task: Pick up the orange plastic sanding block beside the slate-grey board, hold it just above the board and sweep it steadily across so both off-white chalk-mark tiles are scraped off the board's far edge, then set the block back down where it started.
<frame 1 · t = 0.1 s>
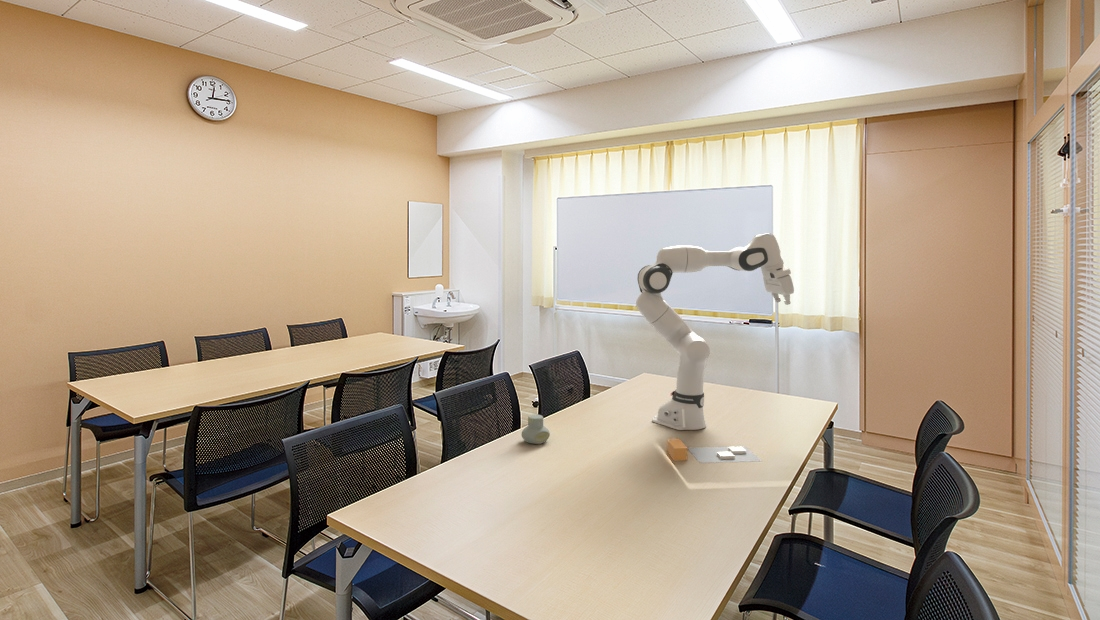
hand: (783, 303, 225), 52 cm above the table, fingers open, 8 cm apart
mark b: (737, 451, 197), point 1 cm above the table, touching board
sanding block: (676, 459, 193), on the table
board: (723, 458, 195), on the table
mark a: (725, 456, 192), point 1 cm above the table, touching board
air freshener: (535, 442, 211), on the table
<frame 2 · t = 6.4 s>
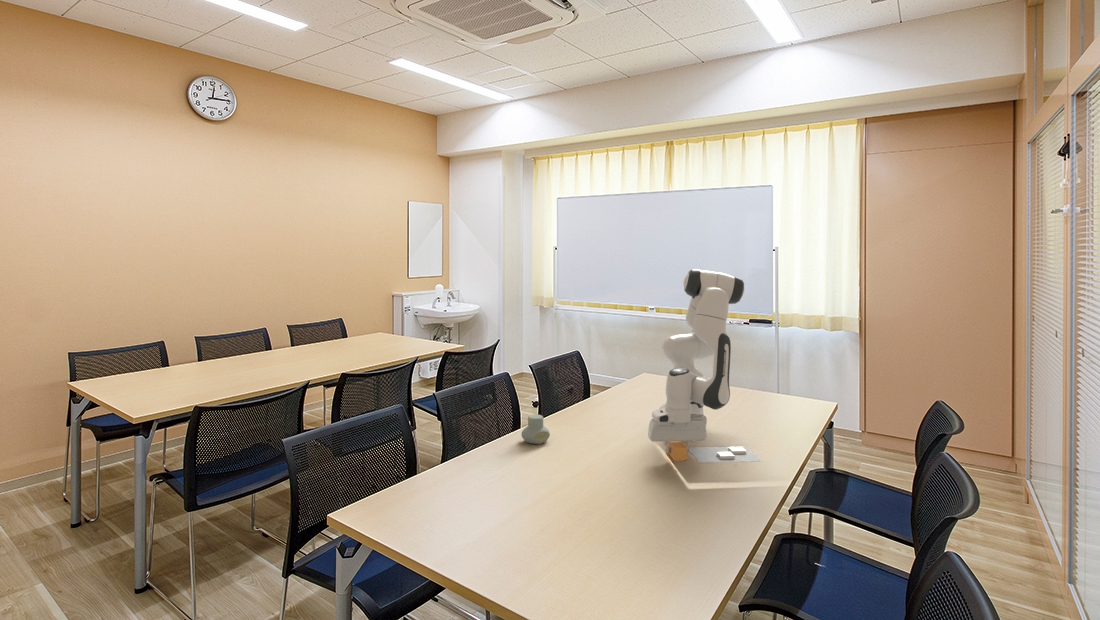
hand: (676, 452, 193), 3 cm above the table, fingers closed on sanding block, 4 cm apart
sanding block: (676, 459, 193), on the table, touching gripper
everything else where it was.
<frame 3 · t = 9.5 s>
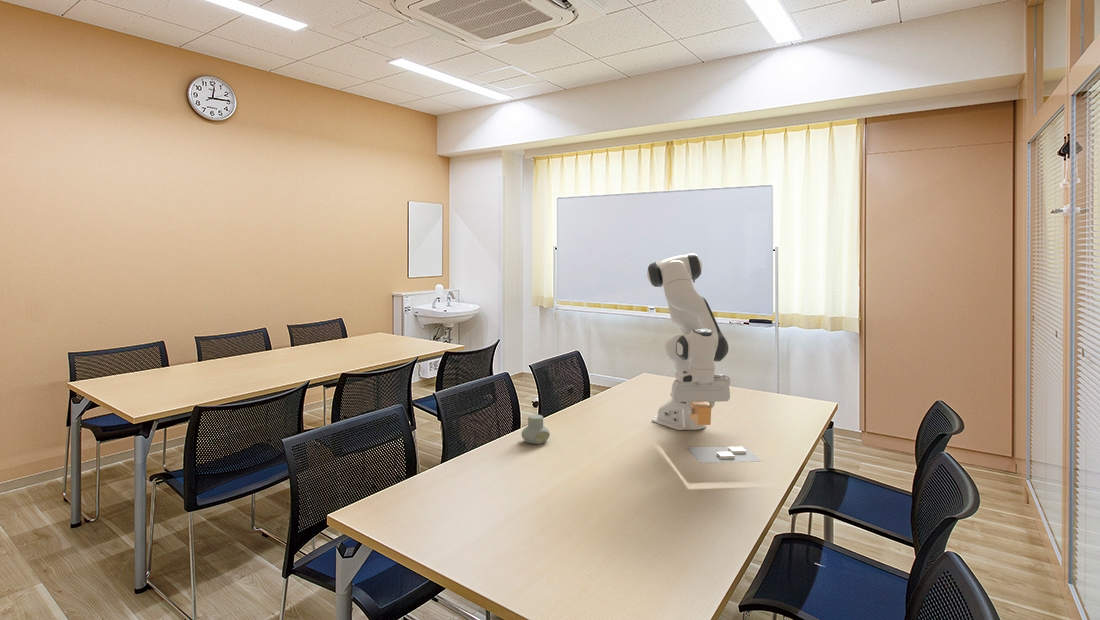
hand: (699, 413, 192), 17 cm above the table, fingers closed on sanding block, 4 cm apart
sanding block: (699, 420, 192), point 14 cm above the table, touching gripper
everything else where it was.
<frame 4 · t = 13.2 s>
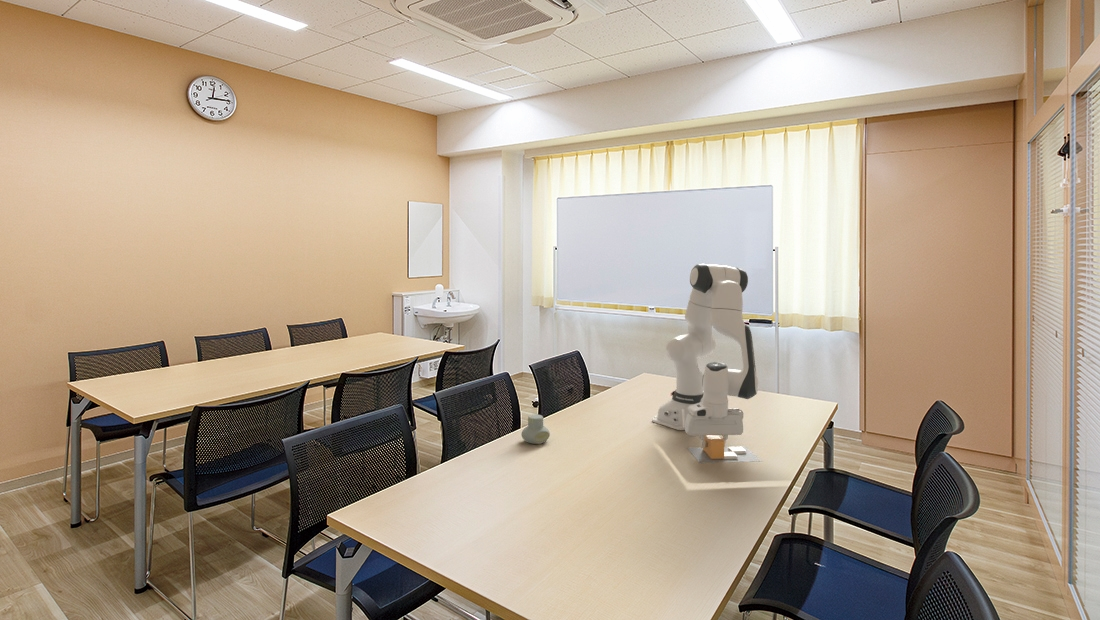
hand: (713, 446, 194), 4 cm above the table, fingers closed on sanding block, 4 cm apart
sanding block: (713, 453, 194), point 2 cm above the table, touching gripper, mark a
mark a: (728, 456, 192), point 2 cm above the table, touching board, sanding block
everything else where it was.
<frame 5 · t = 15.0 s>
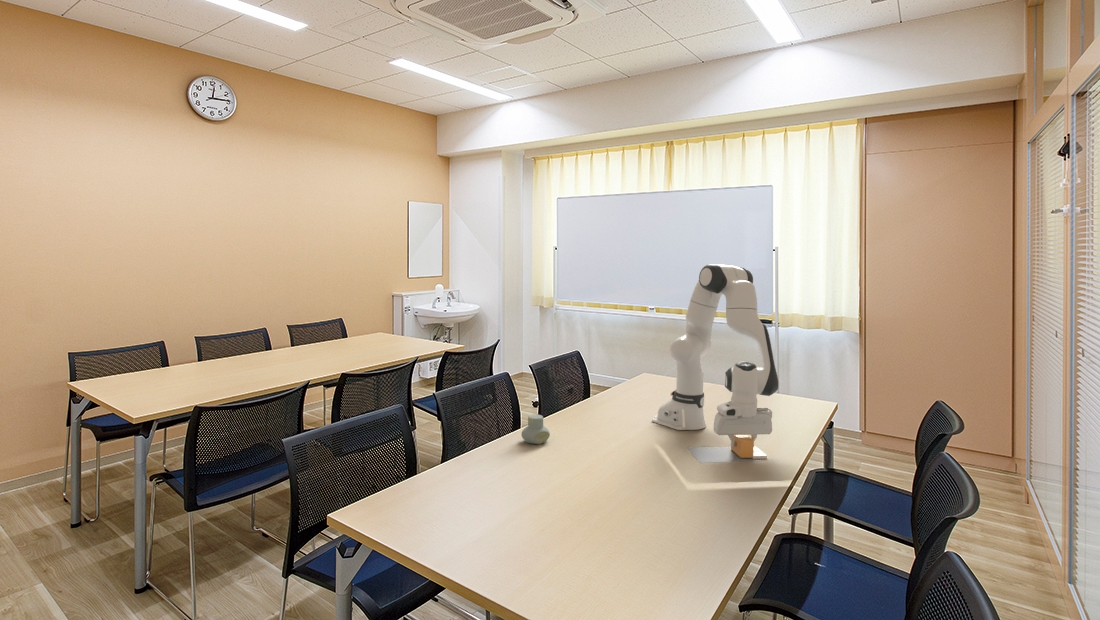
hand: (742, 446, 194), 4 cm above the table, fingers closed on sanding block, 4 cm apart
mark b: (751, 451, 197), point 1 cm above the table, touching board
sanding block: (741, 453, 194), point 2 cm above the table, touching gripper, mark a
mark a: (757, 456, 192), point 2 cm above the table, touching sanding block
everything else where it was.
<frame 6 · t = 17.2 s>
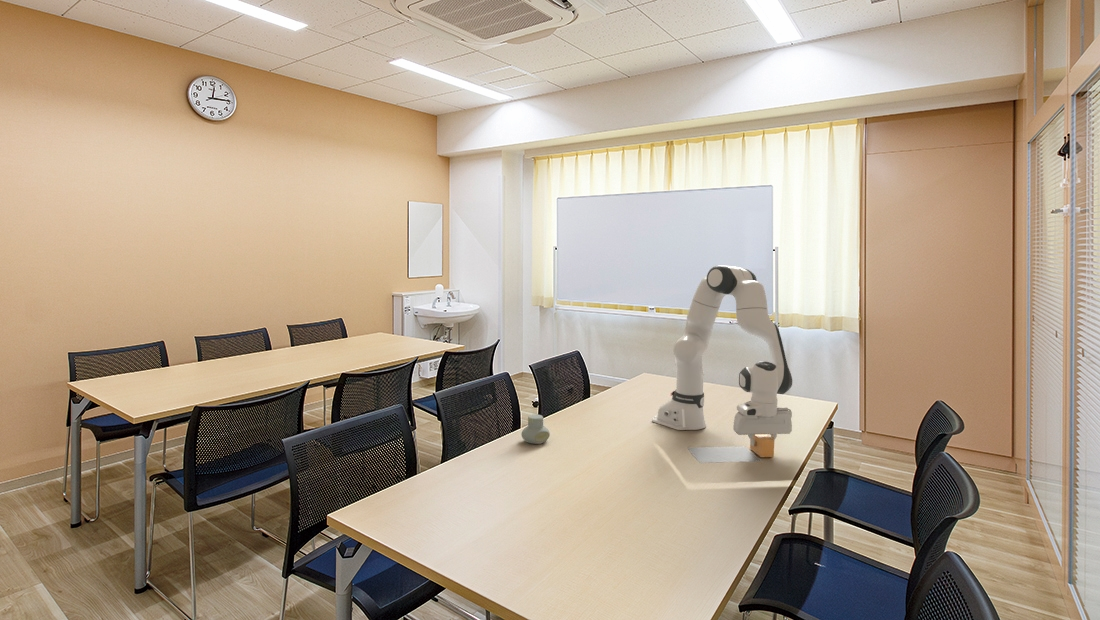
hand: (761, 445, 195), 4 cm above the table, fingers closed on sanding block, 4 cm apart
mark b: (757, 456, 198), on the table
sanding block: (761, 452, 195), point 2 cm above the table, touching gripper
mark a: (763, 461, 193), on the table
everything else where it was.
when the fingers open (4 cm above the table, at t = 23.8 s): sanding block drops 2 cm, on the table.
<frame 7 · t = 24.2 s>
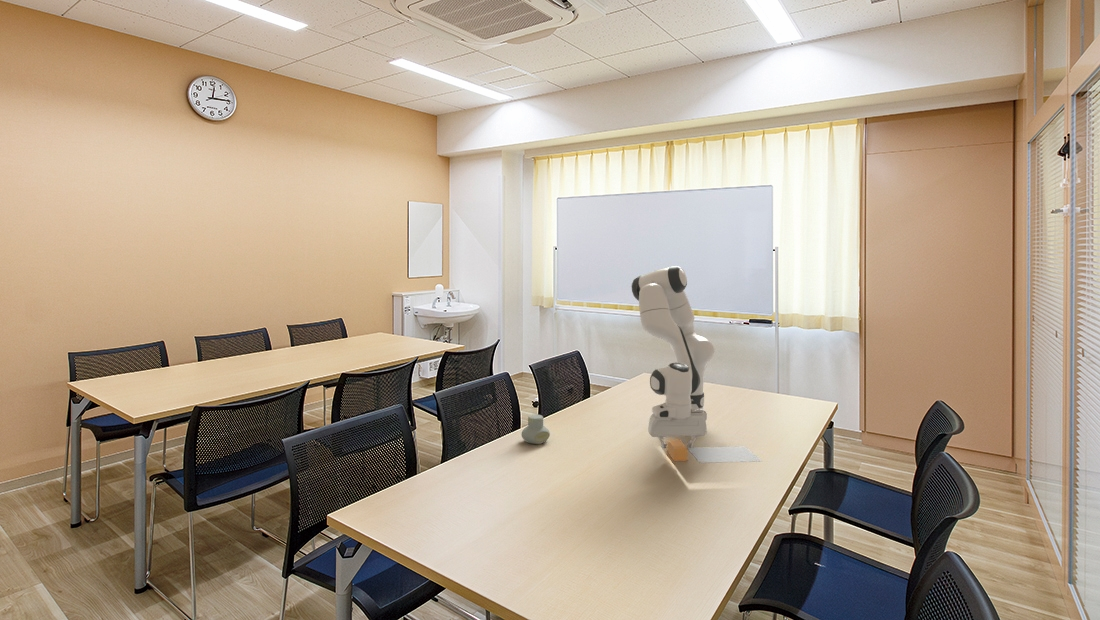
hand: (676, 447, 193), 4 cm above the table, fingers open, 8 cm apart
sanding block: (676, 460, 193), on the table
everything else where it was.
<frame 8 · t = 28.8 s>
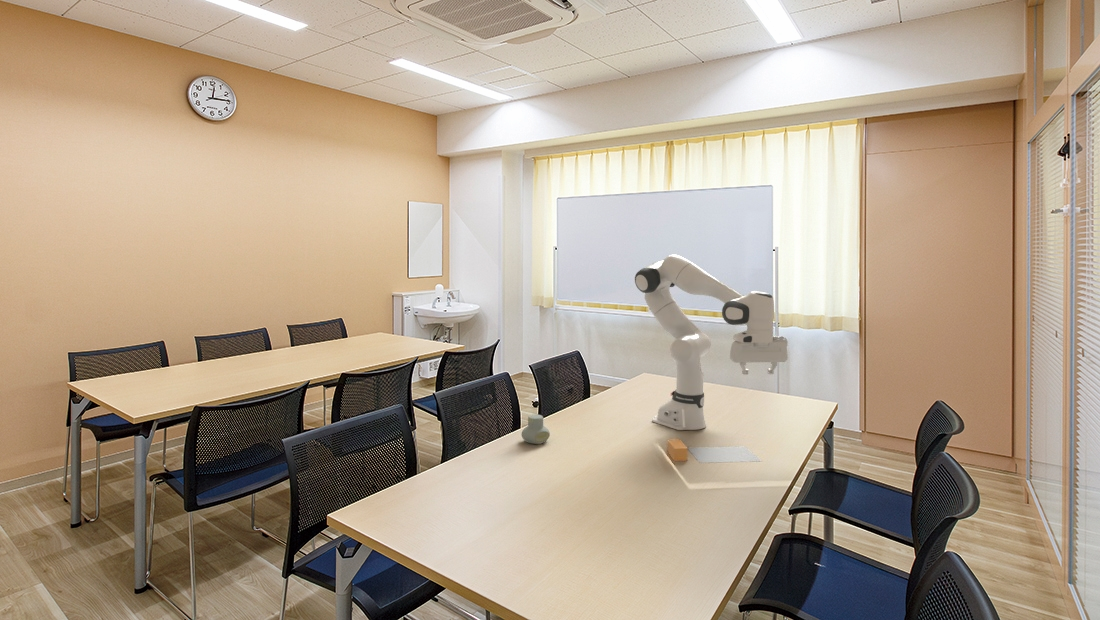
hand: (757, 374, 198), 29 cm above the table, fingers open, 8 cm apart
nothing on the table moved.
at the end: mark a on the table; mark b on the table; sanding block tilted 0° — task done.
